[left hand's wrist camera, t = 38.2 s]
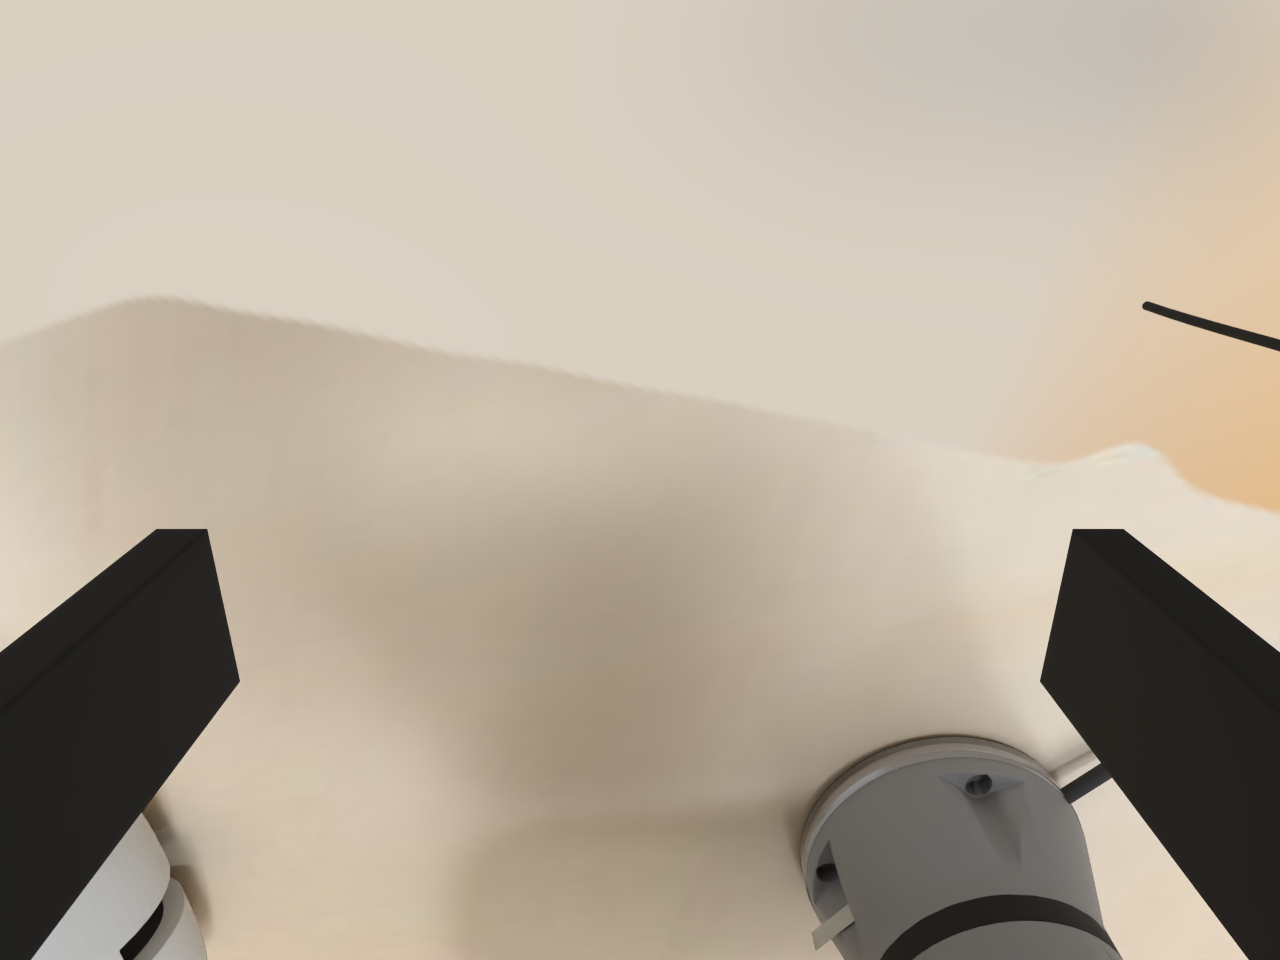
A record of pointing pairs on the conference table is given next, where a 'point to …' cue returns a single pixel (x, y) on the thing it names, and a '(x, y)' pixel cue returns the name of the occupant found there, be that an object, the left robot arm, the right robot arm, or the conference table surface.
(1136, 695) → the left robot arm
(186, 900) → the projector
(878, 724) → the conference table surface
